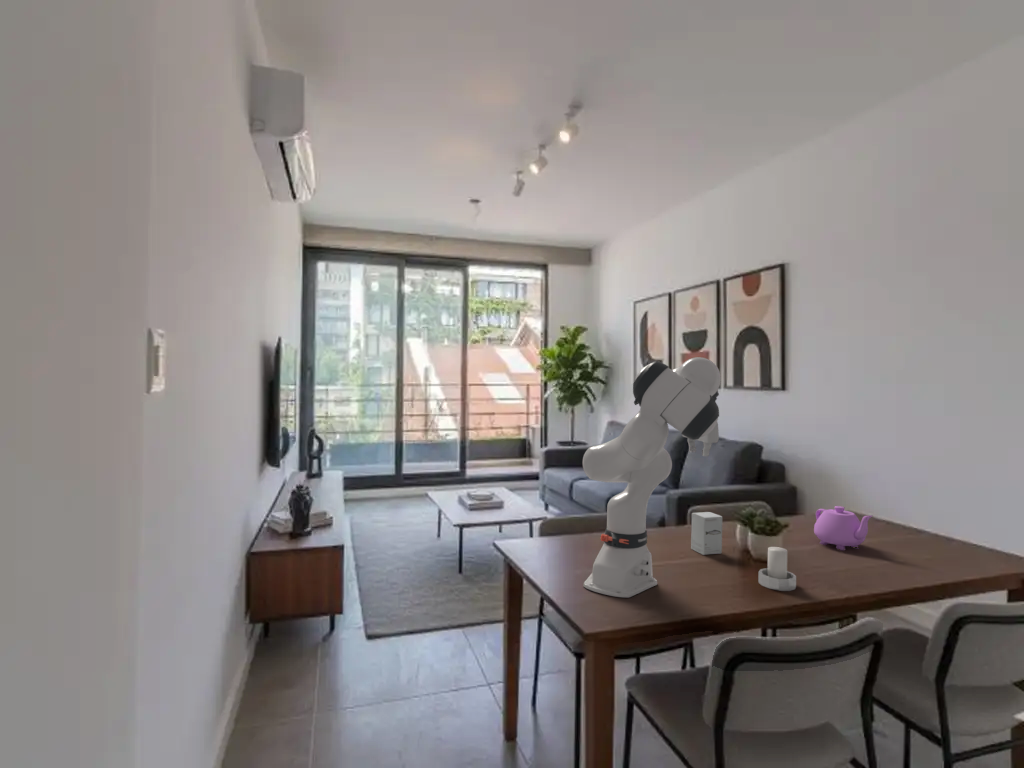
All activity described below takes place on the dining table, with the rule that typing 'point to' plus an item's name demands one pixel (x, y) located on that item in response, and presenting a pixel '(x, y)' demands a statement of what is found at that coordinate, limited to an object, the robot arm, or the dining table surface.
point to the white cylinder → (777, 562)
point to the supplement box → (706, 533)
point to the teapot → (840, 527)
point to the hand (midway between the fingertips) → (698, 454)
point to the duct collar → (777, 581)
